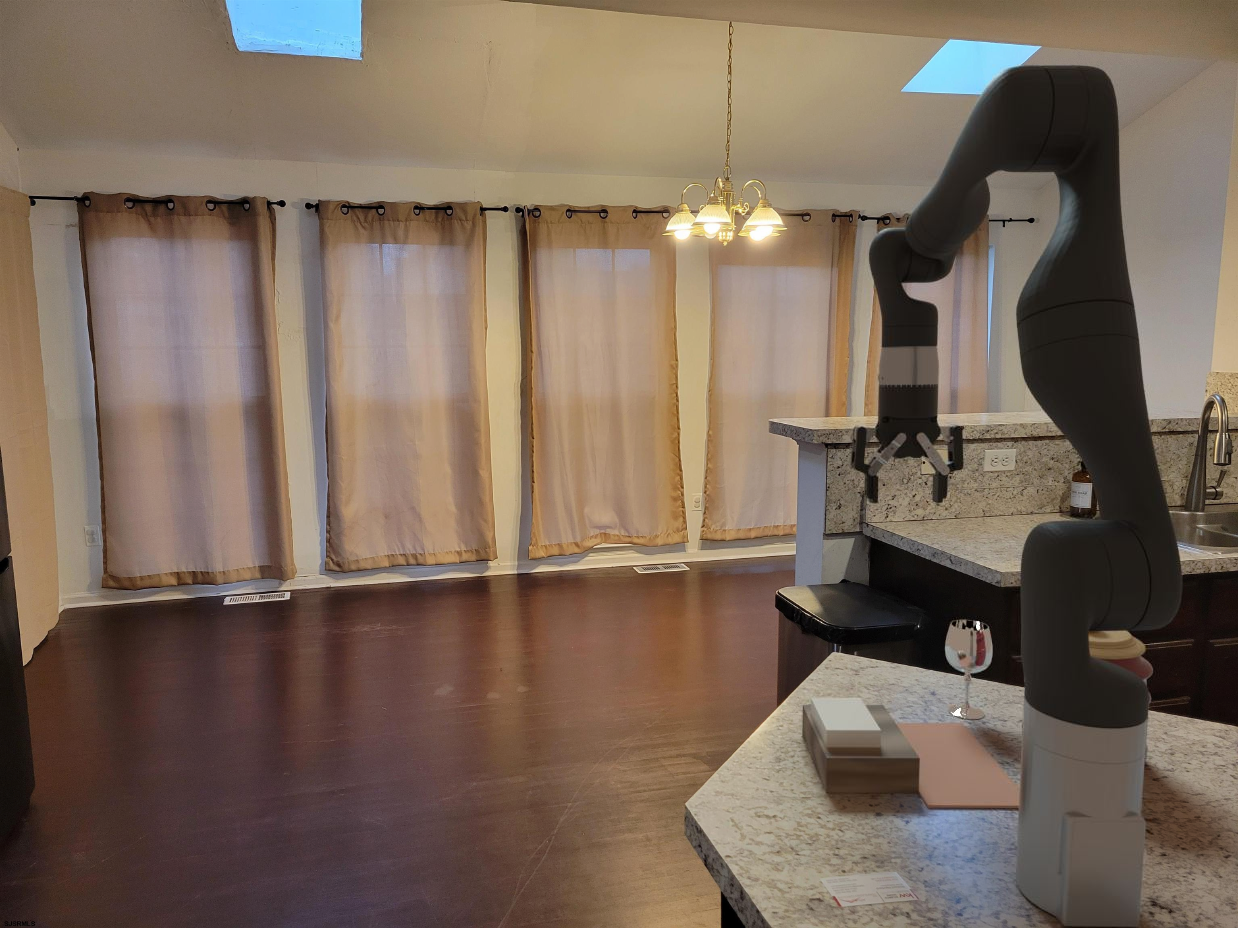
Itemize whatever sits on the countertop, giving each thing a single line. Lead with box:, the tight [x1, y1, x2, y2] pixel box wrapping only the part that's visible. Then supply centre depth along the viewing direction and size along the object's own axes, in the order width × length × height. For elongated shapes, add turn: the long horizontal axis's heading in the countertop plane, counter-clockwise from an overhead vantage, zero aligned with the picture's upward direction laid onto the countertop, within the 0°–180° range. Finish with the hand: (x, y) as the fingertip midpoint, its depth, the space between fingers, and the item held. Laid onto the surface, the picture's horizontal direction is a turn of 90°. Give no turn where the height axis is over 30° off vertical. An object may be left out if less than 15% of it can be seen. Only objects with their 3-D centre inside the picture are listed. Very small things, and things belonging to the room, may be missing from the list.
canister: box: [1021, 631, 1154, 764], centre depth 97 cm, size 13×13×18 cm
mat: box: [895, 722, 1020, 809], centre depth 97 cm, size 20×11×1 cm, turn 178°
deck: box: [801, 704, 920, 794], centre depth 97 cm, size 14×10×4 cm
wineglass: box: [944, 619, 993, 720], centre depth 110 cm, size 6×6×12 cm
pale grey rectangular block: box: [810, 697, 881, 747], centre depth 96 cm, size 9×6×2 cm, turn 178°
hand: (905, 502), depth 112 cm, fingers open, 8 cm apart
